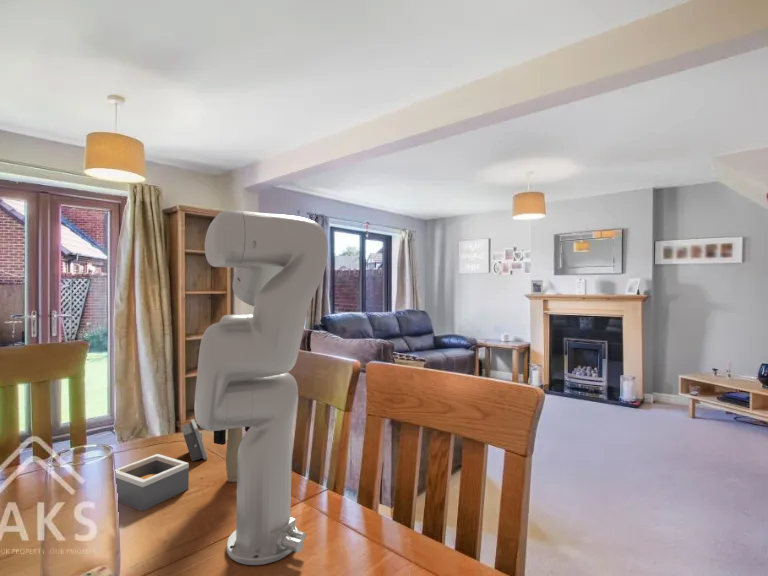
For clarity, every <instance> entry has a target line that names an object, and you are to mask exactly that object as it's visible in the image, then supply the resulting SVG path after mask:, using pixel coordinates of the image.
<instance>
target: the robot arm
mask: <svg viewBox="0 0 768 576" xmlns="http://www.w3.org/2000/svg"><path fill="white" fill-rule="evenodd" d="M204 238H205V239H204V254H205V257H206V261H207V262H208V264H209V265H210V266H211V267H215V268H234V269H235V270H234V271H235V272H234V274H233V275H234V276H233V280H232V290H233V294H234V295H235V297H236V298H238V299H239V300H240V301H242V302H243V303H245V304H246V305H249V306H251V307H253V314H252V313H250V314H249V313H248V314H247V313H246V314H245V313H244V314H225V315H223V316H222V317H221V318H220V319H219V322H214V323H212V324H211V325H209V326H208V327H207V328H206V329H205V331H204V332H203V334H202V337H201V340H200V342H199V343H200V345H199V351H198V360H197V361H198V362H197V372H196V380H195V381H196V383H195V391H194V392H195V393H194V405H193V406H194V407H193V408H194V410H193V411H194V416H195V418H194V419H195V422H196V424H197V426H198V427H200V429H202V430H204V431H207V432H208V431H209V432H213V443H214V444H216V445H221V446H224V445H225V444H227V437H226V436H227V431H228V429H234V428H241V427H242V428H244V431H245V434H244V435H243V436H242V441H241V443H240V445H239V448H238V455H237V482H236V520H235V522H236V523H235V524H236V528H235V530H234V531H233V532H231V534H230V535H229V537H228V538H227V541H226V553H227V555H228V557H229V558H230V559H232V560H233V561H235V562H236V563H239V564H241V565H248V566H261V565H266V564H267V565H268V564H271V563H275V562H277V561H279V560H282V559H284V558H286V557H287V556H289V554H291V553H293V552H295V553H297V554H299V553H301V551H302V550H303V547H304V541H305V540H306V536H307V533H306V532H304V531H301V530H298V528H297V527H296V518H294V517H291V515H292V514H291V511H292V510H291V503H292V457H293V455H292V453H293V452H292V451H293V450H292V449H293V448H292V447H293V429H294V421H295V415H296V410H297V404H298V397H299V388H298V383H297V380H296V378H295V377H294V376H293V375H292V374H291V373H289V372H290V371H291V370H292V369H293V368H294V366H296V363H297V361H298V357H299V354H300V348H301V345H302V340H303V335H304V330H305V324H306V320H307V314H308V311H309V306H310V304H311V301H312V299H313V298H314V295H315V293H316V292H317V290H318V288H319V287H320V286H319V285H320V283H321V281H322V280H323V279H322V278H323V276H324V274H325V270H326V267H327V262H328V255H329V242H328V237H327V233H326V231H325V229H324V227H323V226H322V225H320V224H319V223H318V222H317V221H314V220H311V219H309V218H306V217H302V216H297V215H288V214H280V213H267V212H266V213H265V212H255V211H246V210H237V209H236V210H233V209H228V210H221V211H220V212H219V213H218V214H217V215H216V216H215V217H214V218H213V219H212V221H211V222H210V224H209V226H208V228H207V230H206V234H205V237H204Z"/></svg>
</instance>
